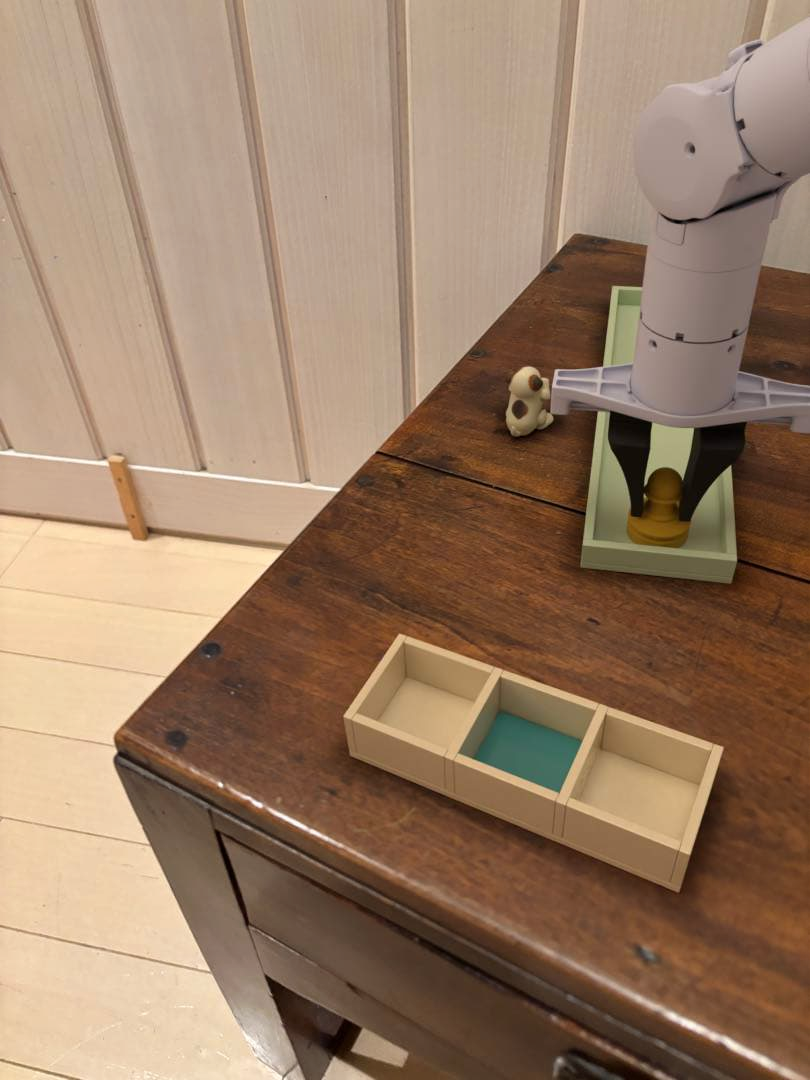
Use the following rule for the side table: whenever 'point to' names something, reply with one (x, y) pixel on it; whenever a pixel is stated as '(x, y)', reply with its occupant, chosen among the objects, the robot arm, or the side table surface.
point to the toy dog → (527, 401)
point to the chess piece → (660, 512)
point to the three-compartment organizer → (537, 757)
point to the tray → (608, 496)
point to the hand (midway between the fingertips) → (660, 509)
